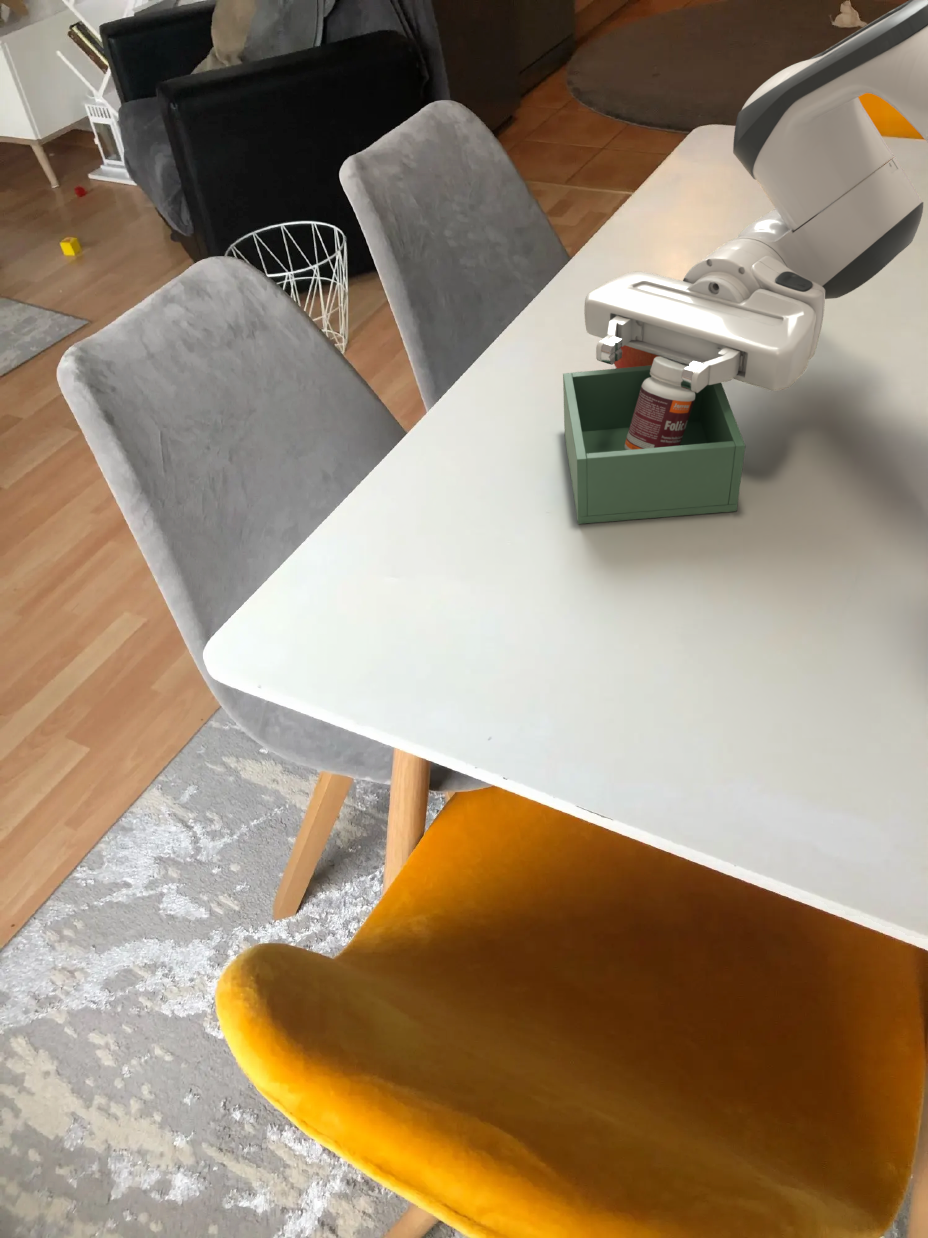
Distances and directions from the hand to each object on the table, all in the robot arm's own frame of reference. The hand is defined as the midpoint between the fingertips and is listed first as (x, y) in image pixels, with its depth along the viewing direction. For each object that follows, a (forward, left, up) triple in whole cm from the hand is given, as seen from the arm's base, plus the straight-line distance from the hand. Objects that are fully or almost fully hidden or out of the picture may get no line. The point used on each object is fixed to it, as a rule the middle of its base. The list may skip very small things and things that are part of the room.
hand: (644, 368), depth 79 cm
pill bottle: (-1, -1, -9) cm, 10 cm away
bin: (-1, -1, -11) cm, 11 cm away
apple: (-3, -16, -11) cm, 20 cm away
